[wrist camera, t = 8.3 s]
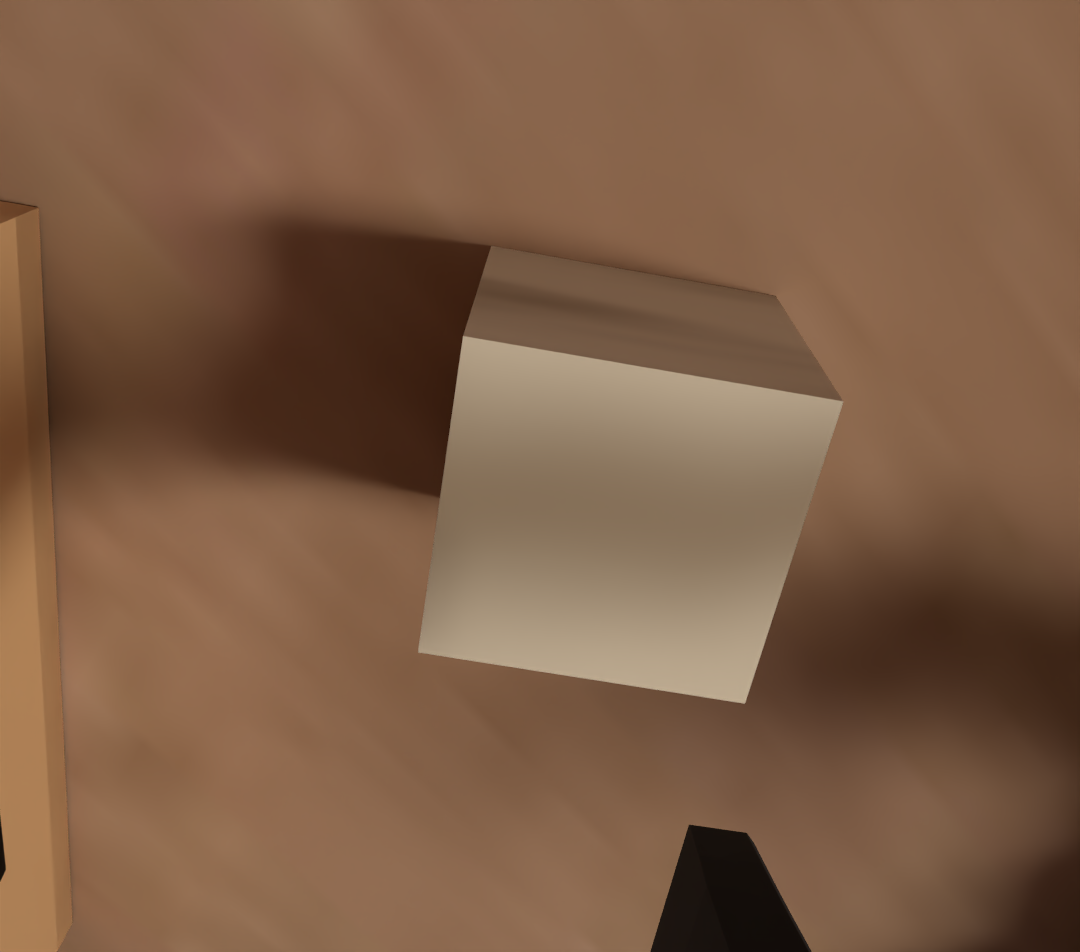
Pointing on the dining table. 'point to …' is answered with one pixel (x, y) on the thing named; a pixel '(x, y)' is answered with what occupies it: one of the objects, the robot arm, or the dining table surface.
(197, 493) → the dining table surface
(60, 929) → the light wood open box
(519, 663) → the beech cube
